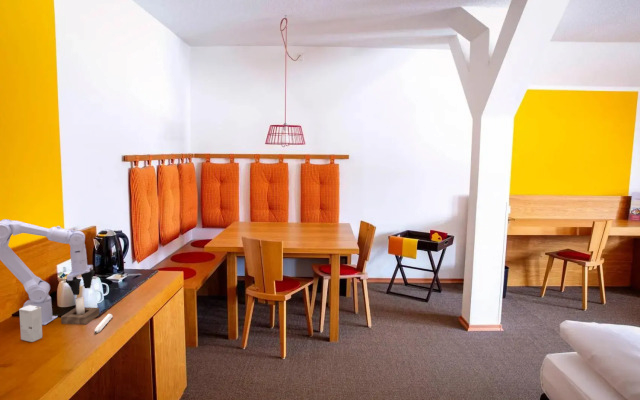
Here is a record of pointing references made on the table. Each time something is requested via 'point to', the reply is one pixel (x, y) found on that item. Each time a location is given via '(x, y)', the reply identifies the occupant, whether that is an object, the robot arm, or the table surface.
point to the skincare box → (30, 323)
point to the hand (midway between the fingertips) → (82, 291)
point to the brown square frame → (80, 316)
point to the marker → (103, 323)
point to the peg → (80, 306)
